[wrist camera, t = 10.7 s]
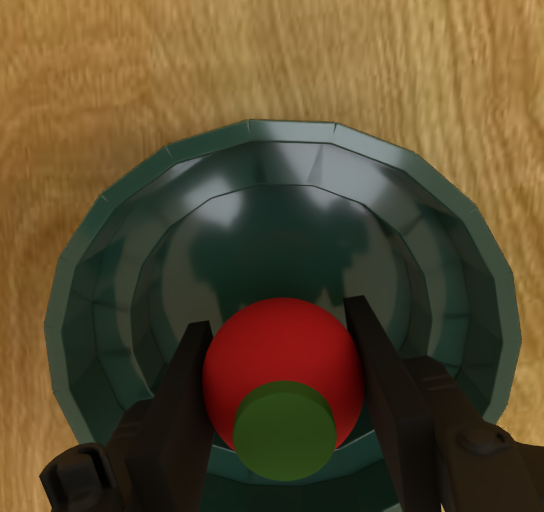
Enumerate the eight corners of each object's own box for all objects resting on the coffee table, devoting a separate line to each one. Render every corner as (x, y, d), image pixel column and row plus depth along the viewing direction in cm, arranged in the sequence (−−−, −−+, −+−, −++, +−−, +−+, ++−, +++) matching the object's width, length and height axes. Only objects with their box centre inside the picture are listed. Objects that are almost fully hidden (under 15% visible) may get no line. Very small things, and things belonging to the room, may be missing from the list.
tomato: (197, 375, 15) (160, 487, 10) (239, 257, 14) (219, 320, 9) (319, 414, 16) (339, 539, 11) (370, 302, 15) (420, 387, 10)
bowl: (74, 394, 19) (8, 479, 14) (160, 67, 15) (107, 33, 10) (368, 483, 21) (397, 588, 16) (516, 203, 17) (615, 229, 12)
